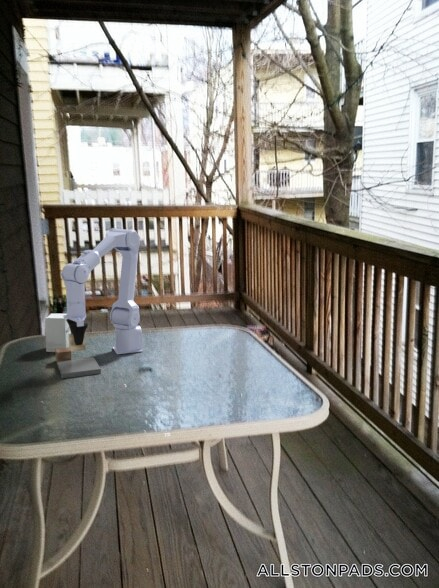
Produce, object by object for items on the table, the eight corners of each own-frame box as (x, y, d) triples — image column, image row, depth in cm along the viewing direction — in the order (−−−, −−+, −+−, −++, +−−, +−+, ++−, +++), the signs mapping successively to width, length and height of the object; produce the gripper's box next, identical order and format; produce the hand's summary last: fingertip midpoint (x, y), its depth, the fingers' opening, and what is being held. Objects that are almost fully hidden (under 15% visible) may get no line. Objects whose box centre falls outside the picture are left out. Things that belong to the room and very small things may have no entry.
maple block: (83, 345, 174) (82, 332, 173) (85, 349, 170) (85, 336, 169) (69, 347, 172) (68, 334, 171) (71, 351, 168) (70, 338, 167)
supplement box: (66, 352, 189) (64, 318, 186) (45, 352, 189) (43, 317, 186) (72, 346, 196) (71, 313, 194) (52, 345, 196) (50, 312, 194)
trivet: (93, 361, 180) (93, 357, 180) (100, 373, 170) (100, 368, 169) (57, 365, 175) (57, 361, 175) (62, 378, 165) (62, 373, 164)
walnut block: (69, 359, 182) (69, 347, 181) (71, 363, 178) (71, 351, 177) (56, 361, 180) (55, 348, 179) (57, 365, 176) (57, 352, 175)
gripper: (59, 297, 173) (61, 337, 175) (66, 307, 160) (68, 350, 162) (81, 296, 175) (83, 335, 178) (89, 305, 162) (91, 347, 165)
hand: (77, 342), depth 171 cm, fingers closed on maple block, 4 cm apart
